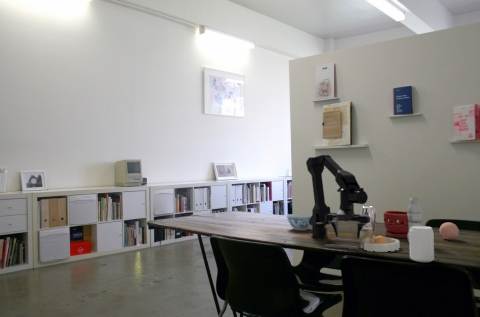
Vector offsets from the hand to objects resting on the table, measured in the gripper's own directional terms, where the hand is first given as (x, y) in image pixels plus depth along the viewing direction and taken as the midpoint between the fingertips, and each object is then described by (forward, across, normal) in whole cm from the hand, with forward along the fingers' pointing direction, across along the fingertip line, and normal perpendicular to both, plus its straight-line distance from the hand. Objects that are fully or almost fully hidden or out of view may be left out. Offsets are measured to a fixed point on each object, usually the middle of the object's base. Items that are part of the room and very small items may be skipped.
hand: (347, 237), depth 175 cm
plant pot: (+3, +17, +31) cm, 36 cm away
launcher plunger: (+3, +8, 0) cm, 9 cm away
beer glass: (+3, +5, +20) cm, 21 cm away
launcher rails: (+3, -1, 0) cm, 3 cm away
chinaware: (+3, -34, +33) cm, 47 cm away
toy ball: (+3, +39, +32) cm, 51 cm away
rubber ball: (+1, +14, 0) cm, 14 cm away
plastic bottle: (+3, +26, +15) cm, 30 cm away
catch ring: (+3, +15, 0) cm, 15 cm away
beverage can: (+3, +31, -17) cm, 35 cm away
